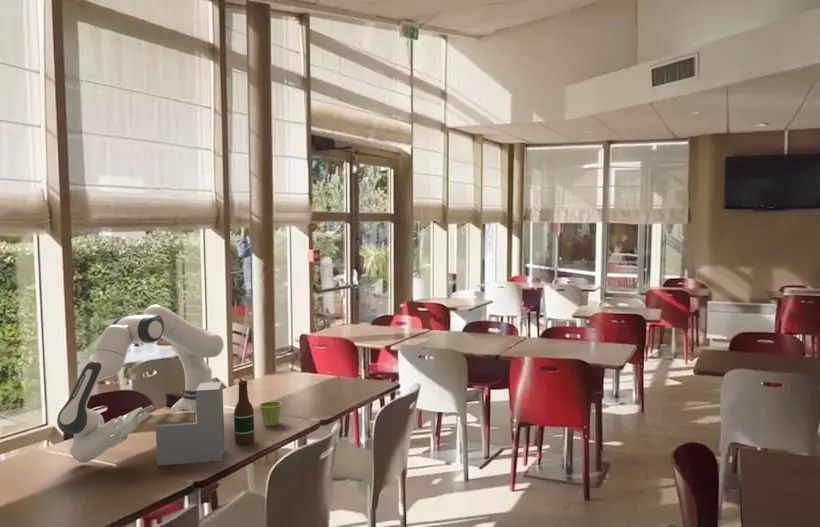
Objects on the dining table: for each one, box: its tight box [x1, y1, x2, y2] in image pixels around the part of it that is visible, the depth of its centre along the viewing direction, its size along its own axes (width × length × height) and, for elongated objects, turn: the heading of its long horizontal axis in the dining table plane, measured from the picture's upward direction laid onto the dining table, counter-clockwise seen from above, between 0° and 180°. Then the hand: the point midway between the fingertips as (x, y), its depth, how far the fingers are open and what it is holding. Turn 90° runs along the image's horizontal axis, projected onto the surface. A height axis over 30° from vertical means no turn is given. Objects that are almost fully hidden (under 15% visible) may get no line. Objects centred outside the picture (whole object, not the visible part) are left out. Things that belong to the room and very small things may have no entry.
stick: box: [139, 411, 195, 425], centre depth 250 cm, size 19×2×3 cm, turn 100°
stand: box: [155, 381, 226, 466], centre depth 251 cm, size 22×12×26 cm, turn 100°
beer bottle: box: [233, 380, 255, 446], centre depth 268 cm, size 8×8×24 cm
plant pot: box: [258, 400, 283, 427], centre depth 292 cm, size 9×9×9 cm
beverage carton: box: [165, 389, 184, 408], centre depth 331 cm, size 8×19×7 cm, turn 147°
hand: (150, 410), depth 248 cm, fingers open, 8 cm apart
